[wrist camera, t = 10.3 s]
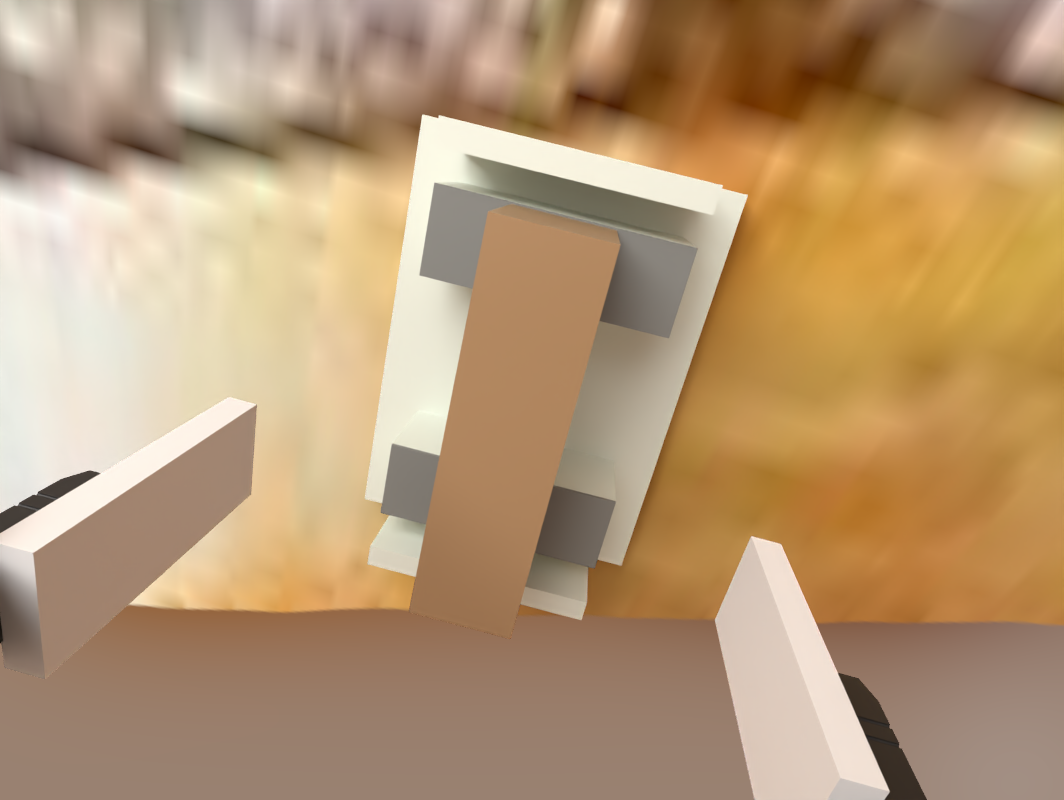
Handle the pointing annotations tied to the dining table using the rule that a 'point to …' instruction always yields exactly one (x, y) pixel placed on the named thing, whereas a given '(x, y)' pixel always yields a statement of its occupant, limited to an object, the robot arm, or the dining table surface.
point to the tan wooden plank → (510, 412)
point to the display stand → (616, 356)
